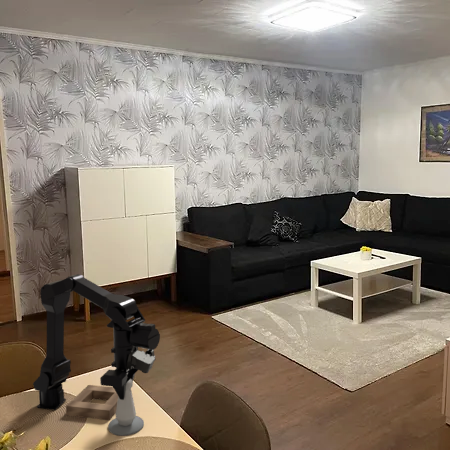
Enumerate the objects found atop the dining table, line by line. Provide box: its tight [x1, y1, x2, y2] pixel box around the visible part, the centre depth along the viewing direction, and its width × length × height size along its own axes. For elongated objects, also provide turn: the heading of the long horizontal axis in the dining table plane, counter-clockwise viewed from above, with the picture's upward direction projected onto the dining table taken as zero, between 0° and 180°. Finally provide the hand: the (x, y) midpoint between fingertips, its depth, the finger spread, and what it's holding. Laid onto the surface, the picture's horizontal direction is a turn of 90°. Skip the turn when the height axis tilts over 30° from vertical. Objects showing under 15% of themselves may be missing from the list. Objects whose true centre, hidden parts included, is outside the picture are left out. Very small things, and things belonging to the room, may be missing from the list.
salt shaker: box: [115, 377, 137, 426], centre depth 133 cm, size 6×6×13 cm
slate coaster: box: [108, 415, 145, 437], centre depth 134 cm, size 10×10×1 cm
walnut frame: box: [65, 384, 118, 421], centre depth 145 cm, size 14×14×3 cm
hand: (125, 395), depth 133 cm, fingers closed on salt shaker, 4 cm apart
